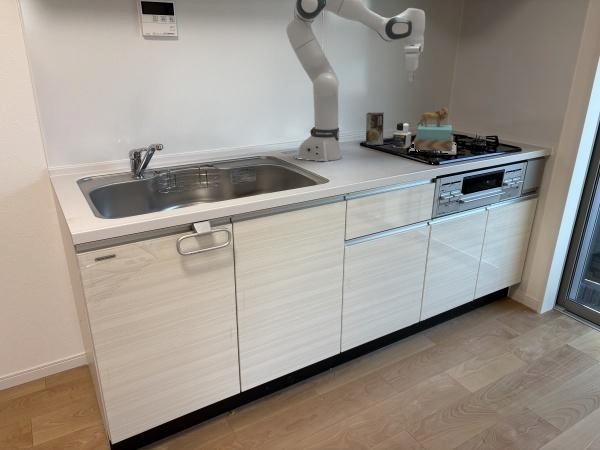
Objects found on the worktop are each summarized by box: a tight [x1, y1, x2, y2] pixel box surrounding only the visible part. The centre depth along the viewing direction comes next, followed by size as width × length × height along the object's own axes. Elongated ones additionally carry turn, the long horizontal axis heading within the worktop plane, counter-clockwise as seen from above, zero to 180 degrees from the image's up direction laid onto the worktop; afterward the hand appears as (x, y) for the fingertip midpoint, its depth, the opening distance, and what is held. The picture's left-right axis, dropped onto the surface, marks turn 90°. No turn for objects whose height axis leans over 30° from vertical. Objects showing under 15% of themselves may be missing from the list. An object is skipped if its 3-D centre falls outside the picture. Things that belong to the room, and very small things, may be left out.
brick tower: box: [408, 123, 457, 155], centre depth 223 cm, size 22×22×11 cm
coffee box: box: [365, 112, 385, 145], centre depth 237 cm, size 9×6×16 cm
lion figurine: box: [416, 107, 449, 127], centre depth 222 cm, size 15×5×9 cm, turn 81°
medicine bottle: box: [392, 122, 412, 149], centre depth 229 cm, size 7×7×12 cm
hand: (411, 80), depth 203 cm, fingers open, 8 cm apart
